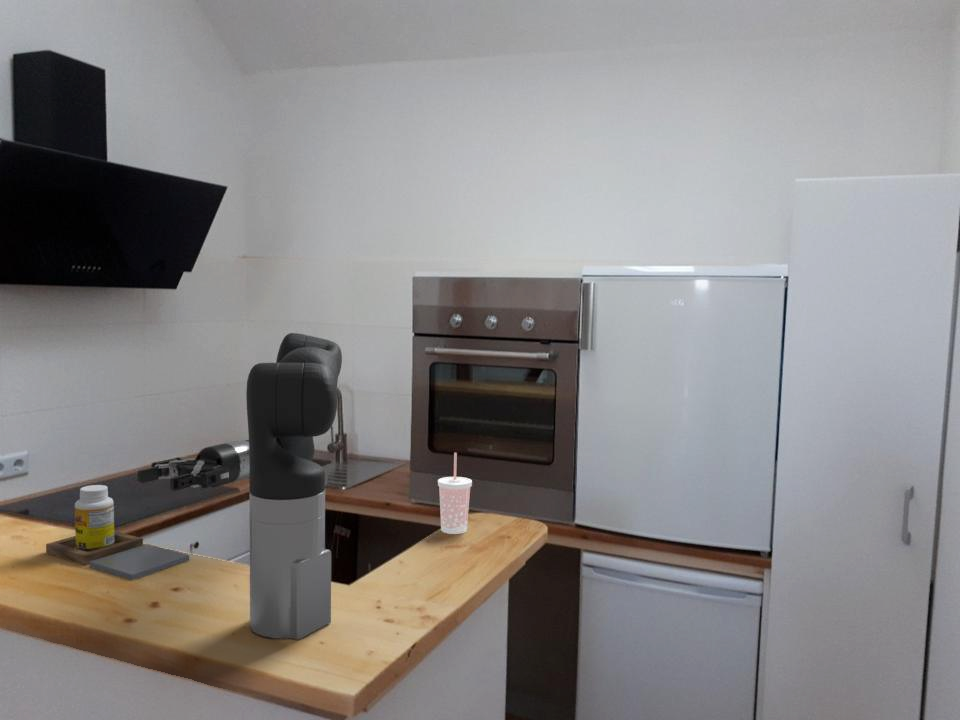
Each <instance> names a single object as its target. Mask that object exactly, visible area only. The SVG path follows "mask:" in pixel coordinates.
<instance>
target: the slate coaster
mask: <svg viewBox="0 0 960 720" xmlns="http://www.w3.org/2000/svg"><path fill="white" fill-rule="evenodd" d="M189 561H190V555H189V554H186V553H183V552H178V551H175V550H172V549H167V548H164V547H160V546H157V545H153V544H149V543H146V544H143V545H141V546H138V547H135V548H132V549H129V550H125V551H122V552H119V553H116V554H112V555H109V556H106V557H103V558H100V559H96V560H93V561H90V564H89V567H90V568H92V569H96V570H99V571H102V572H104V573H109V574H112V575H115V576H117V577H118V576H119V577H122V578H125V579H128V580H132V581H134V580H137V579H140V578H142V577H146V576H148V575H151V574H154V573H157V572H160V571H162V570H166V569H169V568H172V567H174V566H177V565H180V564H182V563H185V562H189Z"/></svg>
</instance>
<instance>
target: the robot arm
mask: <svg viewBox="0 0 960 720" xmlns="http://www.w3.org/2000/svg"><path fill="white" fill-rule="evenodd" d="M275 361H276V362H259V363H256V364H254V365H253V366H252V368H251V369H250V371H249V373H248V377H247V380H246V390H245V391H246V392H245V396H246V397H245V398H246V415H247V428H248V429H247V432H248V439H246V440H245V439H244V440H236V441H235V440H233V441H230V442H225V443H219V444H215V445H211V446H206V447H204V448H202V449H201V450H200V451H199V452H198V454H197V456H196V457H195V458H193V457H191V458H186V459H183V460H182V457H174V458H169V459H165V460H160V461H155V462H151V467H148V468H142V469H139V470H138V471H137V475H136V477H137V483H140V484H145V483H148V482H153V481H157V480H165V479H166V480H167V479H168V480H169V489H170V491H174V492H175V491H180V490H184V489H187V488H193V489H196V488H198V487H200V488H202V489H208V488H216V487H219V486H224V485H227V484H228V485H229V484H231V483H232V484H233V483H235V482H238V481H242V480H245V479H247V478H249V628H250V629H251V631H252V632H253V633H255V634H256V635H259V636H262V637H265V638H266V637H267V638H274V639H275V638H276V639H294V640H300V639H302V638H305V637H306V636H308V635H310V634H311V633H313V632H316V631H317V630H319V629H321V628H323V627H324V626H326V625H328V624H331V622H332V617H331V616H332V551H331V550H330V549H327V548H326V472H325V469H324V468H323V467H322V466H321V465H320V464H318V463H316V462H314V461H313V459H314V458H315V457H314V456H315V449H316V447H315V441H314V438H315V437H318V436H322V435H324V434H326V433H327V432H329V431H330V430H331V428H332V427H333V424H334V422H335V419H336V416H337V411H338V389H337V387H338V381H339V377H340V373H341V369H342V363H343V355H342V350H341V347H340V345H339V344H338V343H336V341H335V342H334V341H332V340H329V339H325V338H322V337H318V336H312V335H308V334H304V333H296V332H290V333H288V334H287V333H286V335H285V336H284V338H283V339H282V341H281V343H280V345H279V349H278V352H277V356H276V360H275ZM175 474H177V476H176V475H175Z"/></svg>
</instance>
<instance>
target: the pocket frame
mask: <svg viewBox="0 0 960 720" xmlns="http://www.w3.org/2000/svg"><path fill="white" fill-rule="evenodd" d="M141 545H144V538H143V537H138V536H136V535H131V534H127V533H123V532H120V531H116V530H114V544H113V545H110V546H107V547H103V548H100V549H97V550H93V551H90V552H86V551H82V550H79V549H76V548H75V547H76V535H74V536H70V537H66V538H62V539H59V540H56V541H51V542H48V543H45V553H46V554H47V553H48V555H50V554H52V555H51V556H53V555H55V556H54V557H57V556H58V558H60V557H61V558H60V559H63V558H64V559H63V560H66V559H67V561H69V560H70V562H72V563H76V562H77V563H76V564H79V563H80V564H79V565H82V564H83V566H88V565H89V566H90V561H93V560H96V559H100V558H103V557H106V556H109V555H112V554H116V553H119V552H122V551H125V550H129V549H132V548H135V547H138V546H141Z"/></svg>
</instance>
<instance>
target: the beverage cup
mask: <svg viewBox="0 0 960 720" xmlns="http://www.w3.org/2000/svg"><path fill="white" fill-rule="evenodd" d="M457 455H458V452H454V453H453V476H444V477H441V478H439V479H437V487H439V488H438V489H439V491H438V492H439V510H440V511H439V512H440V531H441V532H442V533H445V534H449V535H459V534H464V533H467V530H468V520H469V508H470V495H471V494H470V493H471V487H473V486H472V485H473V480H472V479H471V478H468V477H463V476H457V467H458V465H457V461H458V459H457V458H458V457H457Z"/></svg>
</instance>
